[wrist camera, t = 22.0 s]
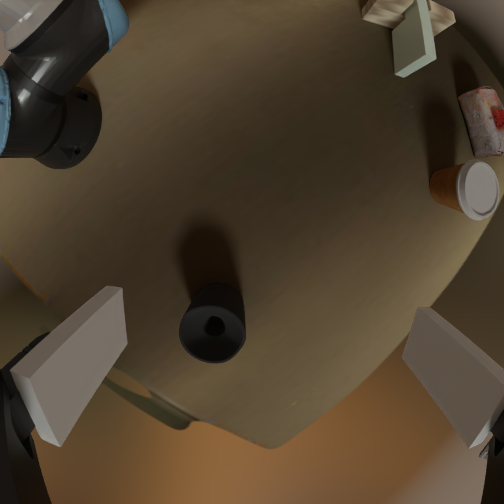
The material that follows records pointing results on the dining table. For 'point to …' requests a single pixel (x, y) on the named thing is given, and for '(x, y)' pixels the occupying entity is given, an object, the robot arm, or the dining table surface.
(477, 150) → the food item
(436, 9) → the birch slotted plate
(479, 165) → the disposable coffee cup
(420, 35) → the sage slotted plate
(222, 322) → the pen holder
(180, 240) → the dining table surface
